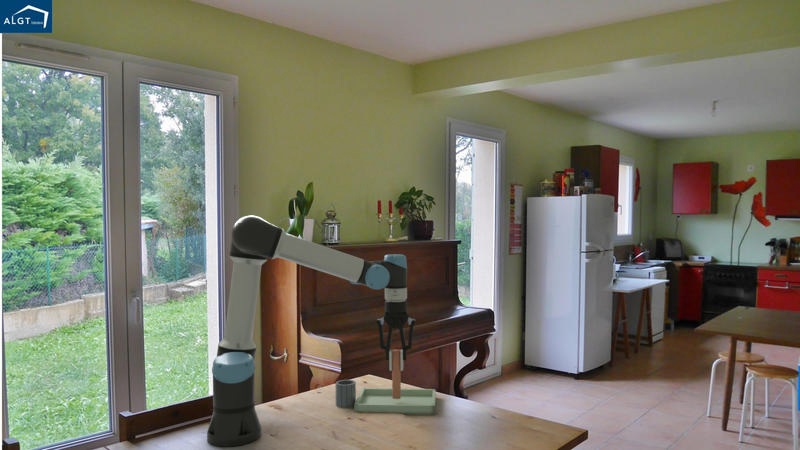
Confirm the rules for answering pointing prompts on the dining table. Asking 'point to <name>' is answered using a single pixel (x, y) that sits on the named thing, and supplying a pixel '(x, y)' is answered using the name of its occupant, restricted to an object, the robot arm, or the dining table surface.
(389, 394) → the tray
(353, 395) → the cup
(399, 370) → the pin
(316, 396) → the dining table surface
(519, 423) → the dining table surface
